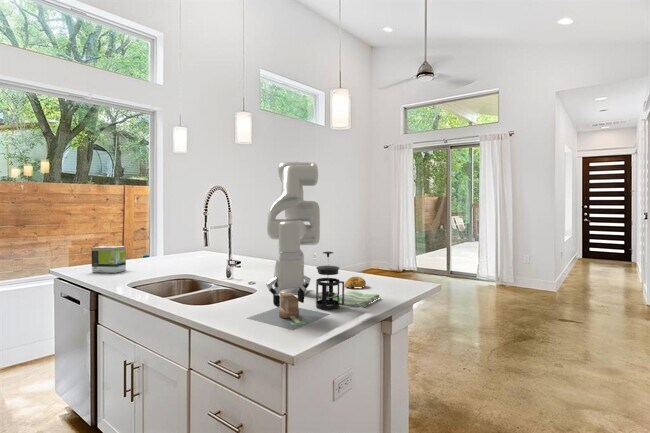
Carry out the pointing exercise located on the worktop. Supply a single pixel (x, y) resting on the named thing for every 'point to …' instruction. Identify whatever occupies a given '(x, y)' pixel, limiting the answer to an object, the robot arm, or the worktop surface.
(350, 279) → the bagel
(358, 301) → the dish towel
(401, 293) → the worktop surface
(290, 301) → the knob
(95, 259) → the tea box
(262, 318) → the dial plate
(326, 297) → the french press
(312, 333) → the worktop surface
